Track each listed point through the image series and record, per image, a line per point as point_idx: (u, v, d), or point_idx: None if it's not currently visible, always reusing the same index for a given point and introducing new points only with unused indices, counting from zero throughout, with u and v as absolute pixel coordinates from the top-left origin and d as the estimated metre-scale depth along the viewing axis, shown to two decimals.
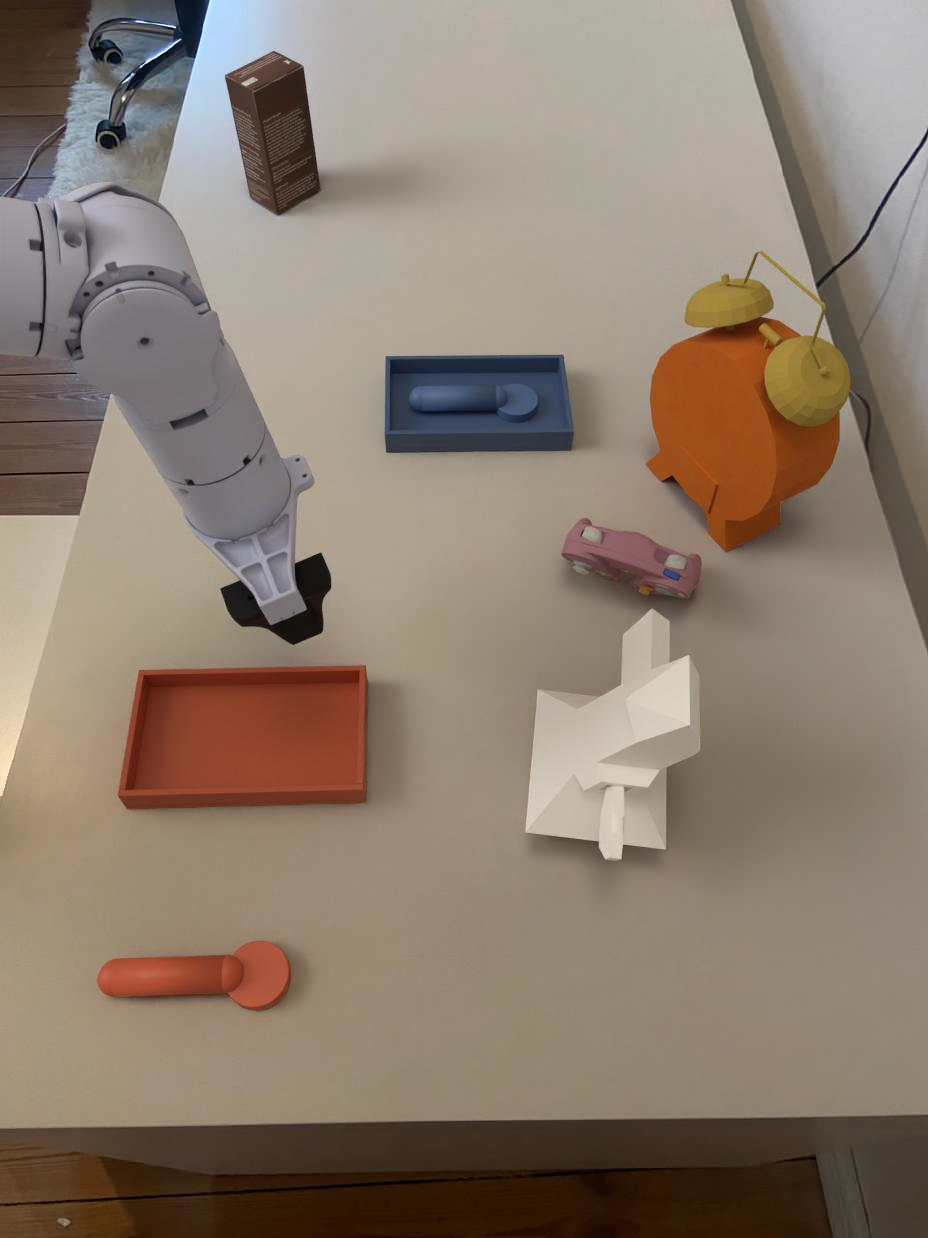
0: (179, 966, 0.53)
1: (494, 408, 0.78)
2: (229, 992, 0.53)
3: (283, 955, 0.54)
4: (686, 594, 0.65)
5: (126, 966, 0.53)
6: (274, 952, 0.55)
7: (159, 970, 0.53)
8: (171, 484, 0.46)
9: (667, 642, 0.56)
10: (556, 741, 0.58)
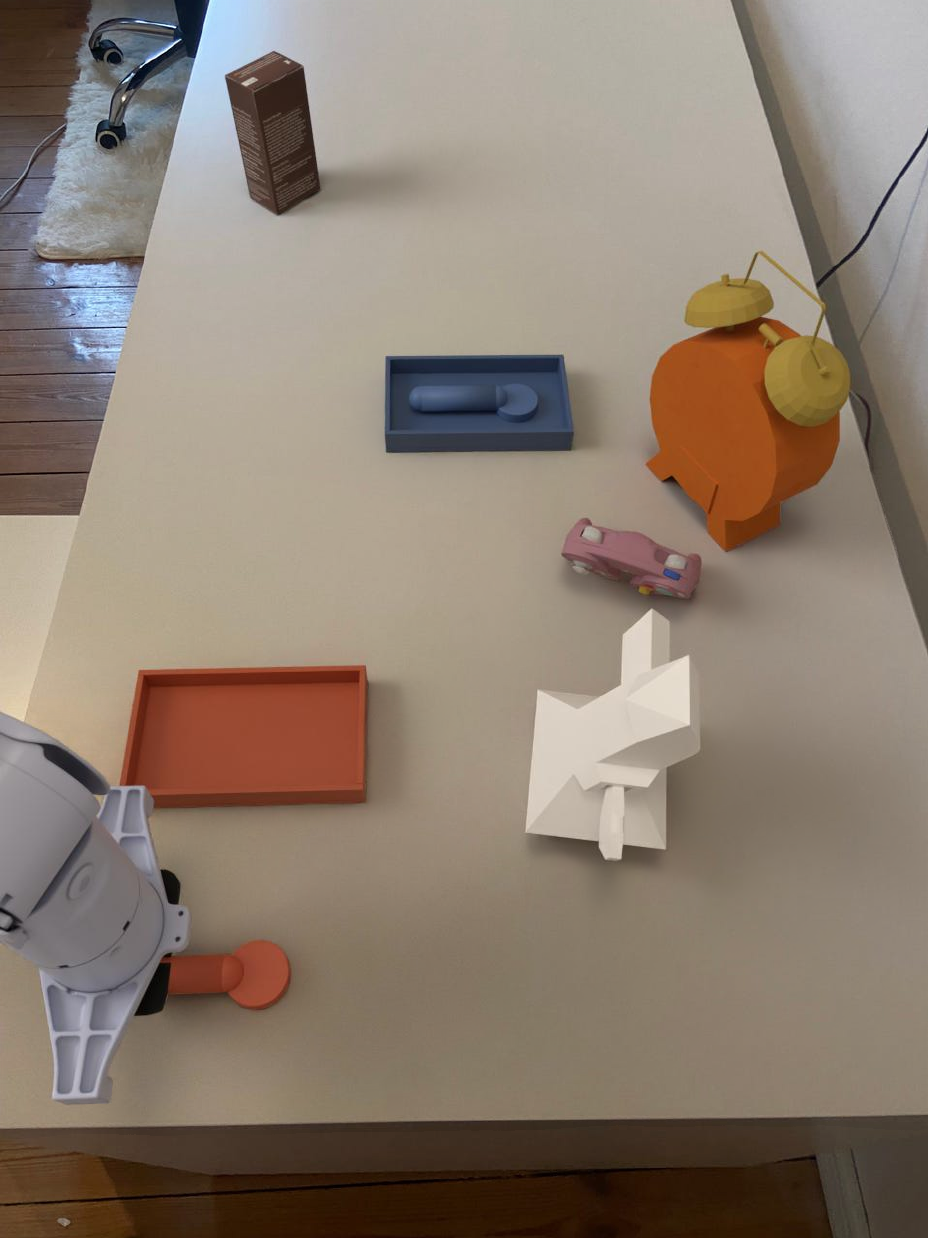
0: (179, 965, 0.53)
1: (494, 408, 0.78)
2: (229, 991, 0.53)
3: (283, 954, 0.54)
4: (686, 594, 0.65)
5: None
6: (274, 951, 0.55)
7: None
8: None
9: (667, 642, 0.56)
10: (556, 741, 0.58)
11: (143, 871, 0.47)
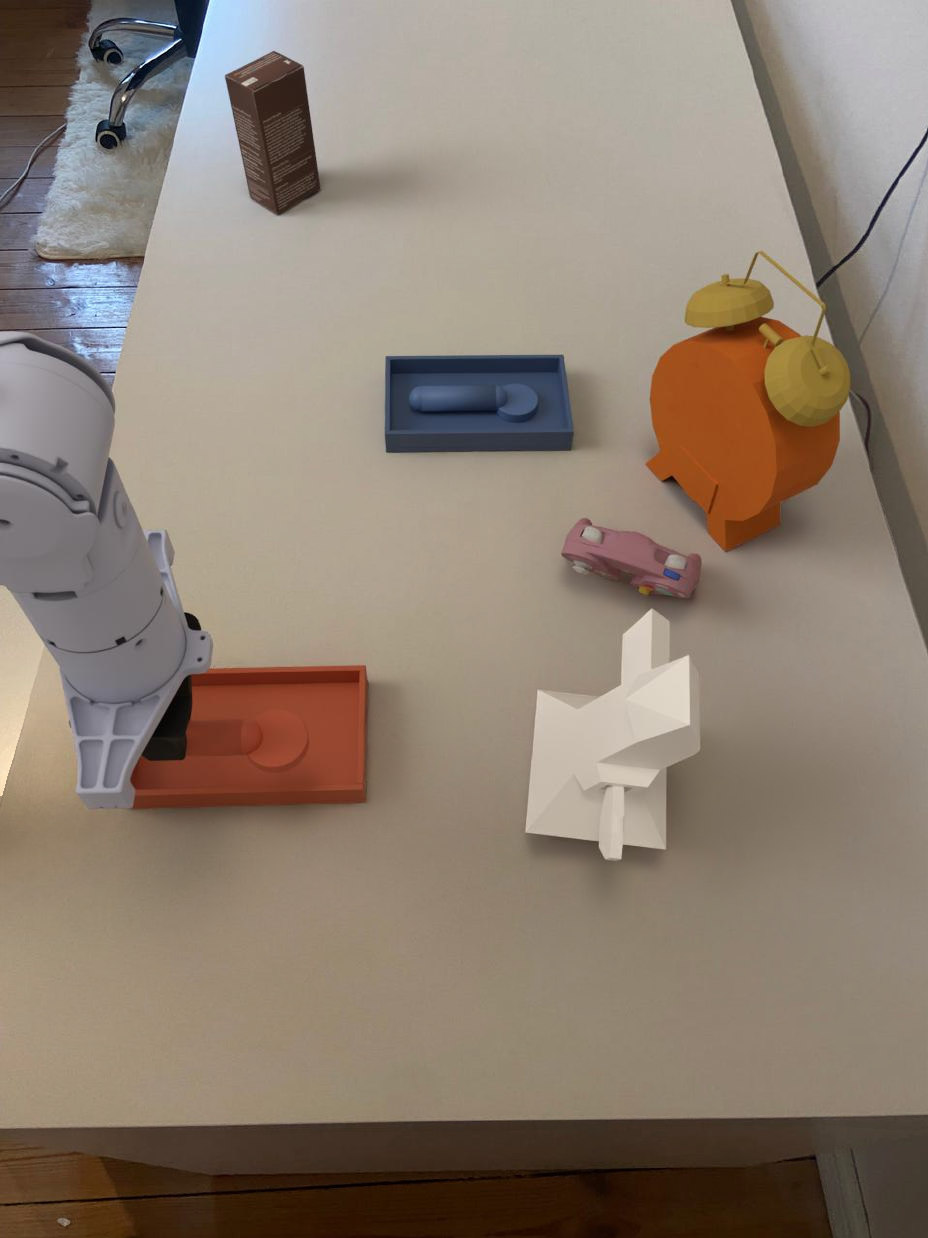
0: (199, 726, 0.53)
1: (494, 408, 0.78)
2: (248, 753, 0.53)
3: (302, 722, 0.55)
4: (686, 594, 0.65)
5: None
6: (293, 719, 0.55)
7: None
8: None
9: (667, 642, 0.56)
10: (556, 741, 0.58)
11: None
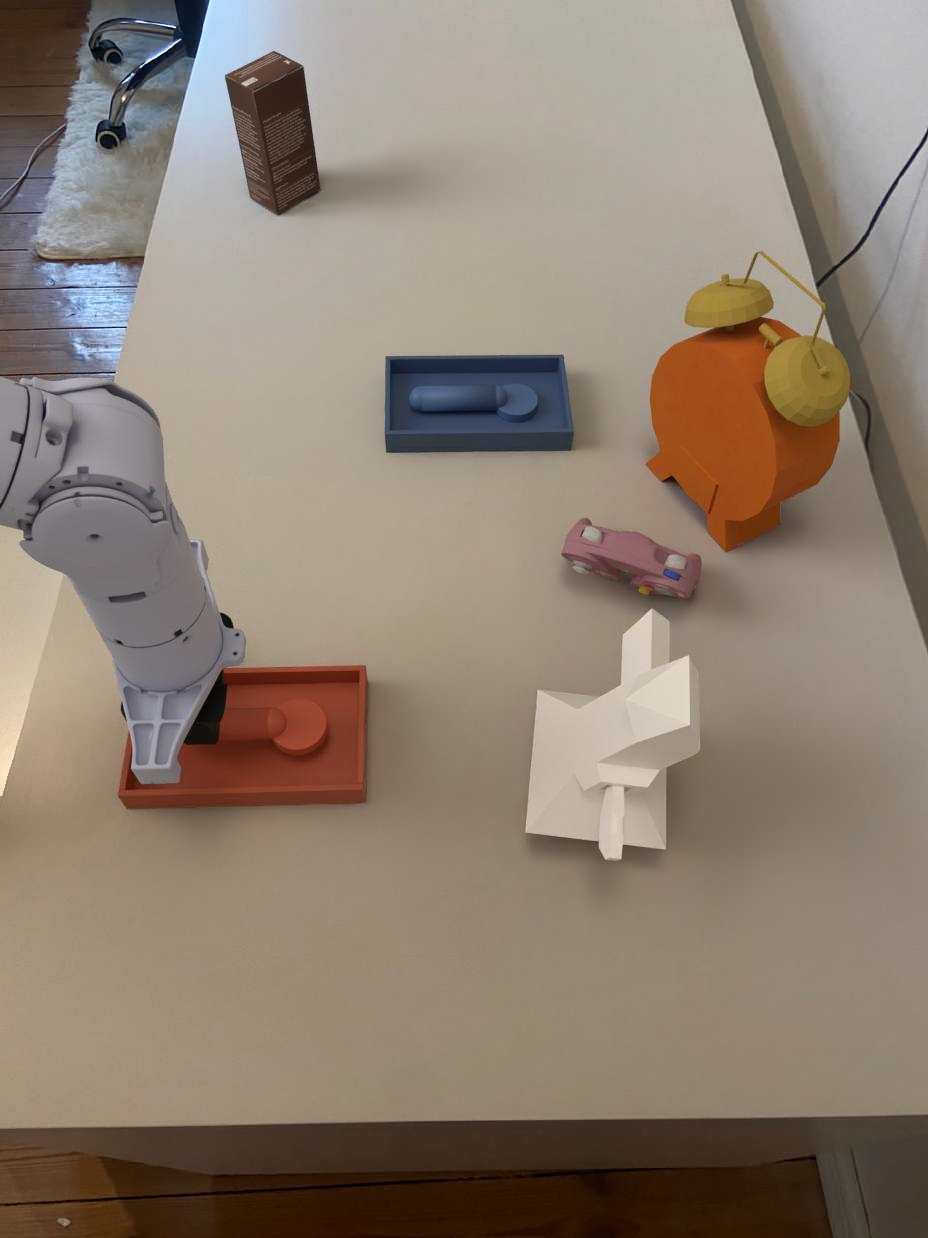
0: (230, 713, 0.60)
1: (494, 408, 0.78)
2: (274, 737, 0.60)
3: (321, 709, 0.61)
4: (686, 594, 0.65)
5: None
6: (313, 707, 0.61)
7: None
8: None
9: (667, 642, 0.56)
10: (556, 741, 0.58)
11: None
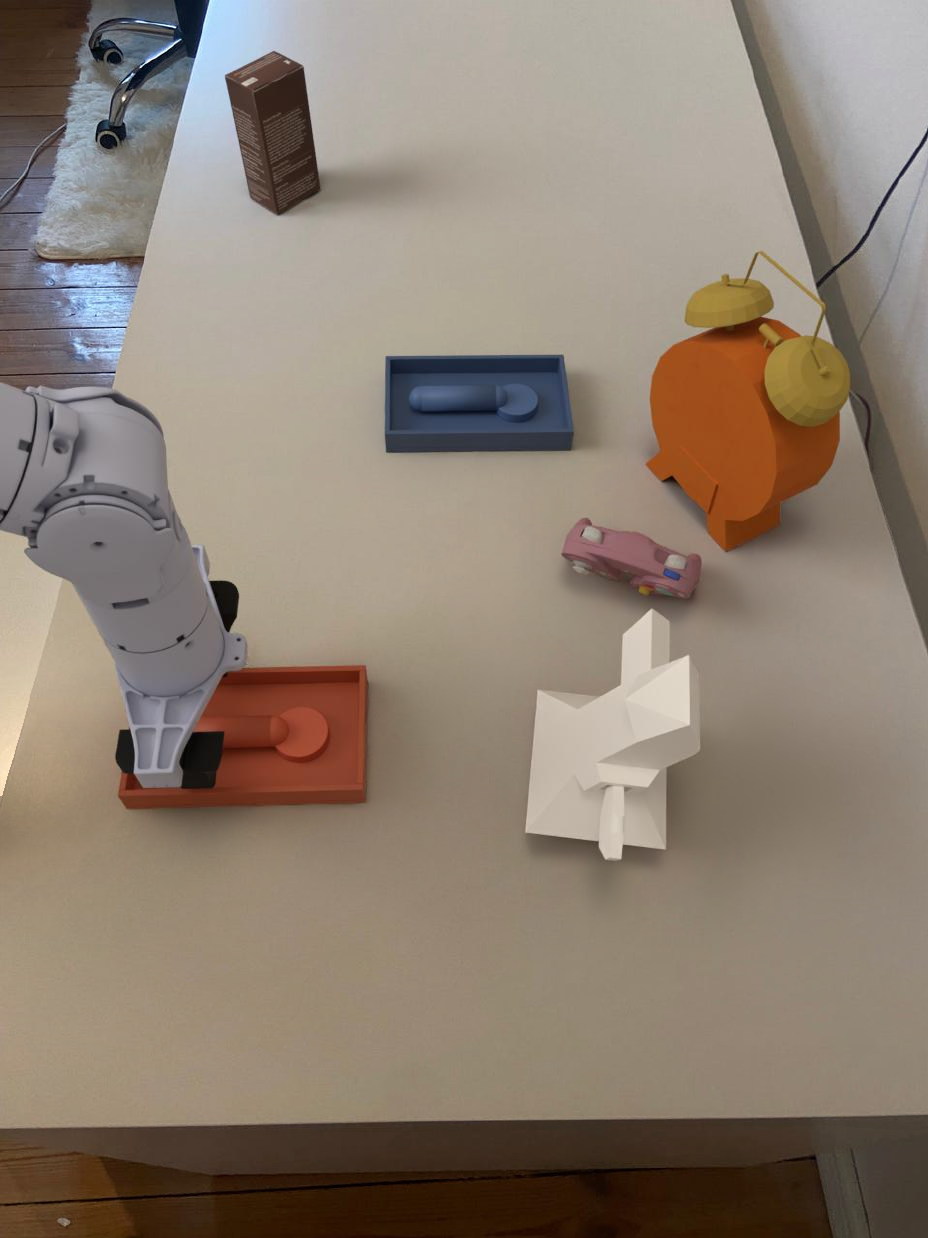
0: (233, 721, 0.61)
1: (494, 408, 0.78)
2: (276, 745, 0.61)
3: (323, 717, 0.62)
4: (686, 594, 0.65)
5: None
6: (315, 715, 0.62)
7: (216, 724, 0.60)
8: None
9: (667, 642, 0.56)
10: (556, 741, 0.58)
11: None
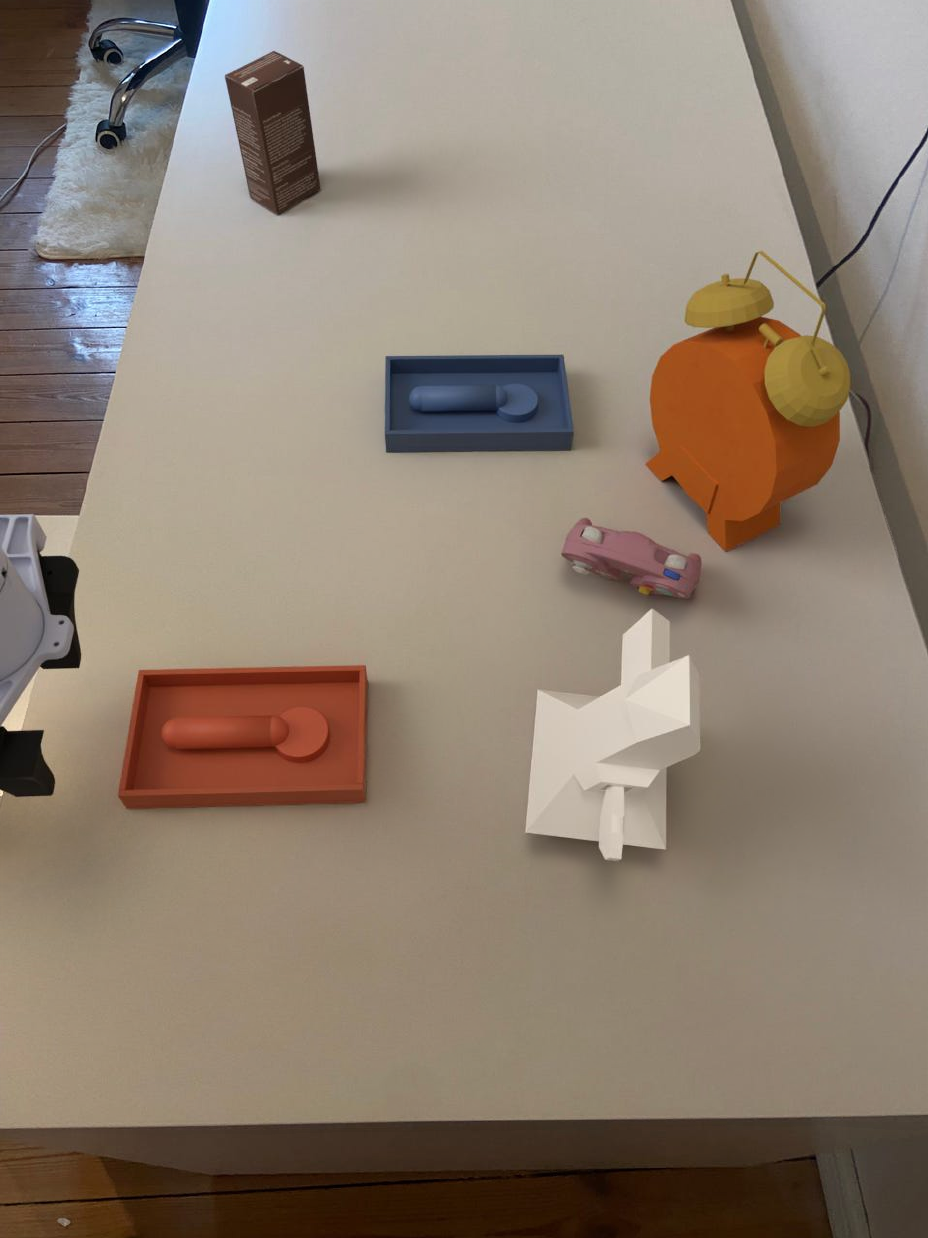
0: (233, 721, 0.61)
1: (494, 408, 0.78)
2: (276, 745, 0.61)
3: (323, 717, 0.62)
4: (686, 594, 0.65)
5: (187, 721, 0.61)
6: (315, 715, 0.62)
7: (216, 724, 0.60)
8: None
9: (667, 642, 0.56)
10: (556, 741, 0.58)
11: (27, 588, 0.47)
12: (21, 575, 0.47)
